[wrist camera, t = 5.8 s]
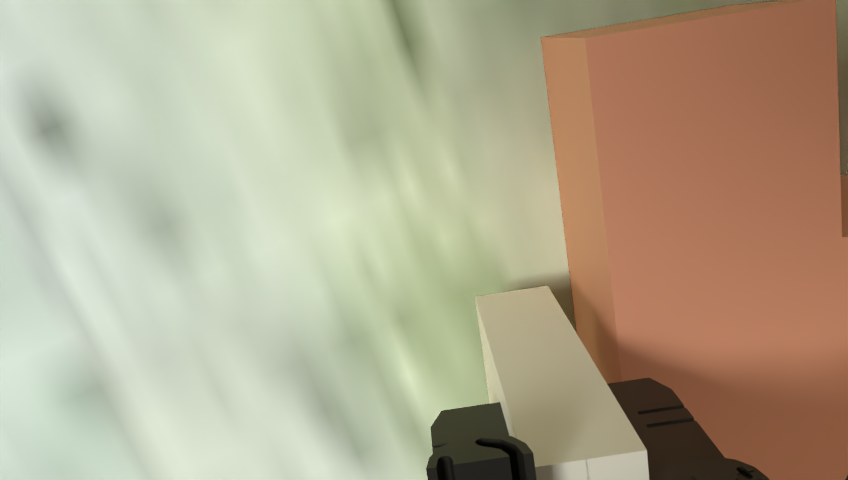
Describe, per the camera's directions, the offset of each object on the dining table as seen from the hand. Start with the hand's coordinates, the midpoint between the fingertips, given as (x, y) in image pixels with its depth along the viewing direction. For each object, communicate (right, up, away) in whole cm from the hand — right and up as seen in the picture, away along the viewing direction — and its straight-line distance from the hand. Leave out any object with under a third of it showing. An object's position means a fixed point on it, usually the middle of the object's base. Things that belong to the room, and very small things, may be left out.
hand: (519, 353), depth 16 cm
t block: (+7, +2, +2) cm, 7 cm away
